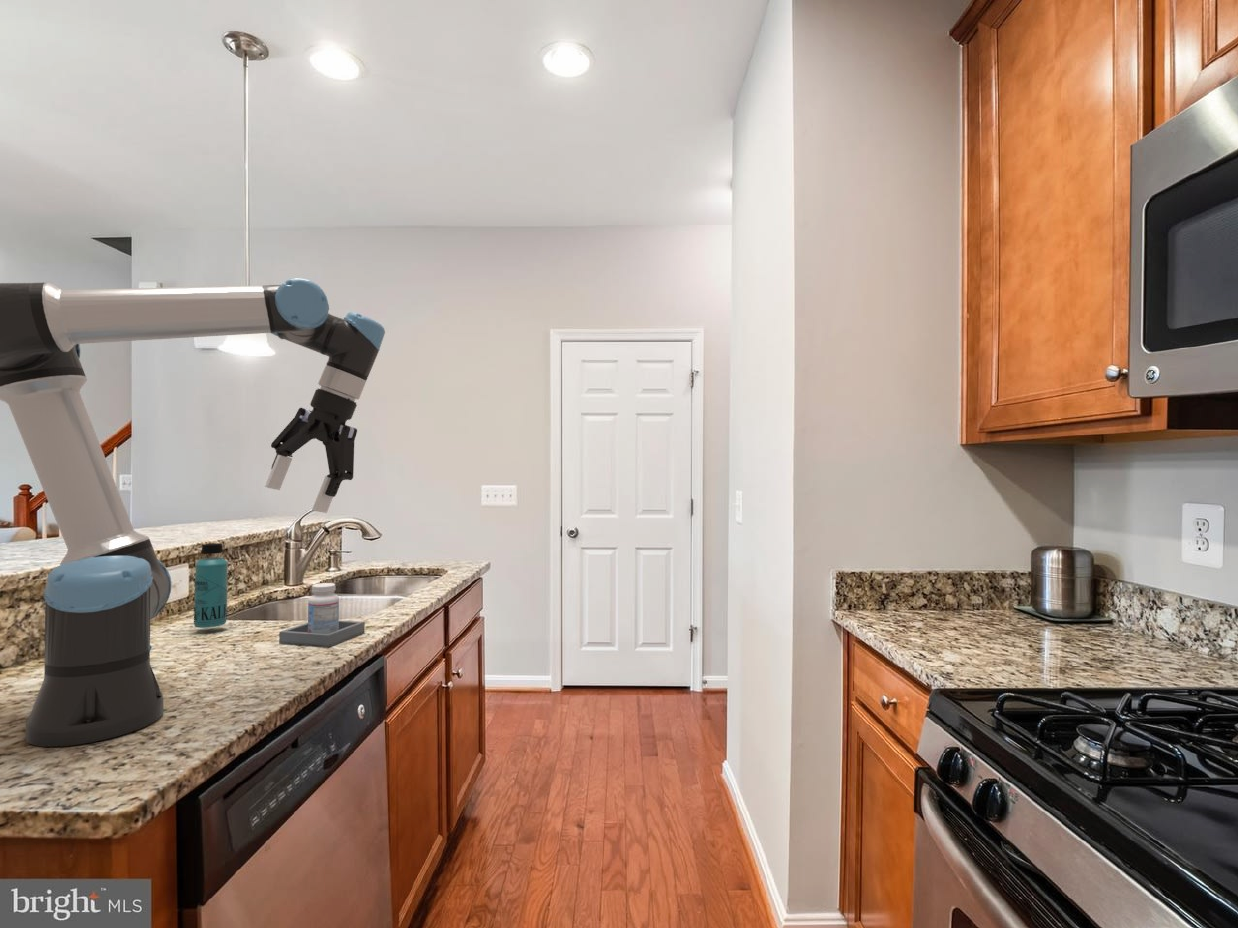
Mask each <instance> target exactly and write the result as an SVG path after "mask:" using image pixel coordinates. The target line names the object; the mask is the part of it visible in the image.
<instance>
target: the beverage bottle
mask: <svg viewBox="0 0 1238 928" xmlns="http://www.w3.org/2000/svg"><path fill="white" fill-rule="evenodd" d="M223 551H224V550H223V544H222V543H216V542H215V543H214V542H213V543H211V542H210V543H204V544H201V550H200V552H201V555H202V554H204V555H206V554H208V555H209V554H222V553H223ZM228 565H229V563H228V560H226V559H224V558H223V557H206V558H205V557H204V558H201V559H199V560H198V561H197V562H196V563H195V572H194V573H195V579H194V589H193V590H194V594H193V595H194V600H193V602H194V605H193V615H192V616H193V621H192V622H193V624H194V627H195V628H198V629H202V628H203V629H207V628H214V627H220V626H223V625H226V624H227V619H228V593H229V592H228Z"/></svg>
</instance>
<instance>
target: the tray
mask: <svg viewBox="0 0 1238 928" xmlns="http://www.w3.org/2000/svg"><path fill="white" fill-rule="evenodd" d="M365 623H366V622H365V621H351V620H340V619H339V630H337V631H334V632H332V633H329V634H321V633H308V622H306V623H302V624H299V625H297V626H293V627H290V628H287V629H284V630H281V631H279V634H278V636H279V639H278V644H279V645H280V644H281V645H289V646H290V645H292V646H293V645H294V646H302V647H316V648H318V647H319V648H327V649H328V648H331V647H333V646H336V645H339V644H341V643H343V642H346V641H348V640H350V639H353V638H356V637H358V636H361V635H364V634H365V628H366V625H365Z"/></svg>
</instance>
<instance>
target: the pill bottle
mask: <svg viewBox="0 0 1238 928" xmlns="http://www.w3.org/2000/svg"><path fill="white" fill-rule="evenodd" d="M311 589H312V590H311V591H312V594H313V595H311V596H310V597H309V598H308V603H307V604H308V605H307V607H308V609H307V623H308V633H321V634H329V633H332V632H334V631H337V630H339V620H340V619H339V617H340V610H339V609H340V606H339V605H340V602H339V601H340V598H339V595H338V594H336V593H335V592H336V583H334V582H324V583H323V582H321V583H316V584H312V586H311Z"/></svg>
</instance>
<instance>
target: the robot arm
mask: <svg viewBox="0 0 1238 928" xmlns="http://www.w3.org/2000/svg"><path fill="white" fill-rule="evenodd" d="M329 311H330V305H329V300H328V298H327V295H326V293H325V291H324V290H323V289H322V287H321V286H320V285H318V284H317V283H315V282H314V281H312V280H311V279H307V278H301V277H294V278H291V279H288V280H286V281H284V282H283V283H282V284H270V285H269V284H267V285H238V286H237V285H231V286H230V285H229V286H227V285H226V286H223V285H222V286H186V287H185V286H183V287H182V286H180V287H179V286H177V287H141V288H139V287H138V288H137V287H133V288H131V287H129V288H128V287H127V288H96V289H95V288H89V289H88V288H87V289H61V288H59V287H58V286H57V285H54V284H53V283H52V282H0V401H2V402H3V403H6V404H7V405H8V407H9V409H10V412H11V414H12V416H13V420H14V422H15V424H16V427H17V429H18V431H19V434H20V436H21V438H22V440H23V444H24V445H25V449H26V450H27V451H26V452H27V454H28V456H29V459H30V460H31V463H32V466H33V468H34V471H35V472H36V475H37V478H38V480H39V482H40V485H41V487H42V490H43V492H44V494H45V498H46V499H47V502H48V504H49V507H50V509H51V512H52V515H53V517H54V519H55V521H56V524H57V526H58V529H59V531H60V533H61V537H62V538H63V541H64V544H65V546H66V548H67V552H66V554H65V555H64V557H63V558H62V560H61V561H60V563H59V565H57V566H56V567H54V568H53V569H52V570H51V571H50V572H49V573H48V575H47V577H46V585H45V588H44V591H43V595H44V596H43V599H44V601H45V612H44V614H45V615H44V676H43V677H44V678H43V681H42V684H41V686H40V689H39V690H38V693H37V696H36V698H35V700H34V703H33V707H32V709H31V711H30V715H29V716H28V717H27V719H26V723H25V741H26V743H28V744H30V745H32V746H38V747H67V746H78V745H85V744H88V743H95V742H98V741H103V740H104V741H105V740H109V739H112V738H117V737H120V736H123V735H126V734H129V733H132V732H134V731H137V730H141V729H143V728H145V727H147V726H149V725H151V724H153V723H155V722H156V721H157V720H159V719H160V718H161V717H162V716H163V715H164V702H165V701H164V695H163V693H162V691H161V690H160V686H159V684H158V680H157V678H156V676H155V673H154V670H153V667H152V666H151V653H150V652H151V650H150V645H151V621H152V619H154V618H156V616H158V615H159V613H161V612H162V610H163V609H164V608H165V606H166V605H167V602H168V601H169V598H170V595H171V593H172V578H171V574H170V571H169V569H168V568H167V567H166V566H165V564H164V563H162V562H161V560H159V559H158V558H157V555H156V554H157V553H156V552H155V549H154V547H153V545H152V542H151V540H150V537H149V536H148V535H145V534H142V533H139V532H137V531H136V530H134V528H133V524H132V521H131V520H130V517H129V514H128V512H127V509H126V508H125V504H124V501H123V500H122V497H121V494H120V491H119V489H118V487H117V484H116V482H115V479H114V477H113V474H112V472H111V469H110V466H109V464H108V461H107V459H106V457H105V456H106V455H105V453H104V450H103V449H102V446H101V444H100V441H99V438H98V436H97V433H96V431H95V428H94V426H93V424H92V420H91V417H90V416H89V412H88V410H87V408H86V406H85V403H84V399H83V398H82V395H81V393H80V392H81V389H82V387H84V385H85V384H86V382H87V381H88V378H87V376H86V373H85V371H84V369H83V366H82V362H81V361H80V357H81V346H80V345H82V344H83V345H84V344H101V343H102V344H103V343H116V342H117V343H118V342H132V341H133V342H135V341H151V340H165V339H166V340H167V339H168V340H169V339H187V338H203V337H205V338H206V337H219V336H222V337H223V336H237V335H255V334H271V335H273V336H276V337H278V339H280V340H285V341H288V342H291V343H293V344H295V345H298V346H301V347H303V348H306V349H309V350H311V351H314V352H317V353H319V354H321V355H323V356H327V357H328V360H327V361H326V365H325V367H324V369H323V371H322V374H321V376H320V379H319V380H318V382H317V384H318V386H320V388H317V389H315V392H314V394H313V396H312V399H311V401H310V403H309V405H310V407H311V408H312V410H310V409H306V408H303V407H299V409H297V411H296V413H295V416H294V417H293V418H292V419H291V421H290V422H289V423H288V424H287V425H286V426H285V427H284V429H283V430H282V431H281V432H280V433H279V434H278V435H277V437H275V439H274V440H273V441H272V443H271V444H270V446H271V448H272V449H274V450H275V453H276V455H275V457H274V460H273V462H272V465H271V469H270V473H269V475H268V478H267V480H266V482H265V486H264V487H265V488H267V489H271V490H278V491H280V490H281V488H282V485H283V483H284V480H285V478H286V475H287V472H288V471H289V468H290V466H291V464H292V460H293V454H294V453H296V452H297V451H298V450H299V449H301V448H303V446H305V445H306V444H307V443H309V442H311V440H315V439H316V440H318V441H319V442H322V444H323V446H324V448H325V453H326V460H327V466H328V473H329V474H327V475H325V476H324V480H323V482H322V484H321V487H320V489H319V491H318V495H317V497H316V499H315V501H314V504H313V507H312V509H311V510H312V511H314V512H317V513H325V514H327V513H328V511H329V508H330V506H331V503H332V501H333V499H334V497H336V495H337V494H338V492H339V488H340V486H341V483H342V482H343V481H347V480H348V481H352V480H353V479H354V469H355V468H354V466H355V465H354V464H355V463H354V462H355V460H354V459H355V440H356V437H357V434H358V429H357V428H355V427H352V426H350V425H347V421H351V419H352V418H353V417H354V416H353V415H354V413H355V411H356V408H357V406H358V404H357V402H356V400H359V399H361V395H362V392H363V390H364V388H365V385H366V383H367V380H368V378H369V375H370V373H371V370H372V368H373V366H374V364H375V362H376V359H377V356H378V354H379V352H380V348H381V346H382V344H383V341H384V340H383V339H384V338H385V334H386V331H385V327H384V326H383V325H382V324H381V323H379V322H377V321H376V320H373V319H372V318H370V317H367V316H365V315H362V314H359V313H357V312H355V311H354V312H353V311H350V312H347V313H346V315H345V317H344V318H341V317H338V316H336V315H335V316H334V315H332V314H331V313H329Z"/></svg>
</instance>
